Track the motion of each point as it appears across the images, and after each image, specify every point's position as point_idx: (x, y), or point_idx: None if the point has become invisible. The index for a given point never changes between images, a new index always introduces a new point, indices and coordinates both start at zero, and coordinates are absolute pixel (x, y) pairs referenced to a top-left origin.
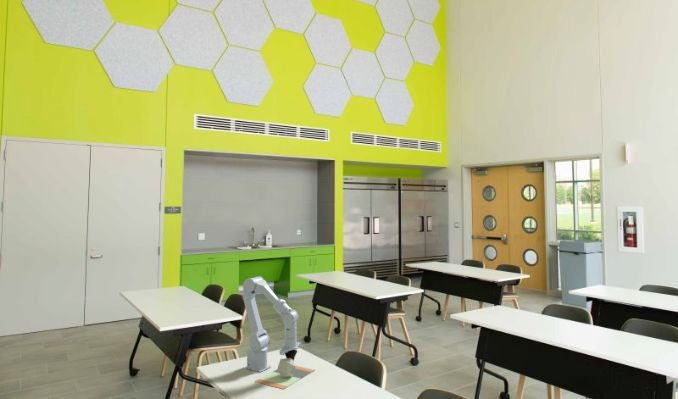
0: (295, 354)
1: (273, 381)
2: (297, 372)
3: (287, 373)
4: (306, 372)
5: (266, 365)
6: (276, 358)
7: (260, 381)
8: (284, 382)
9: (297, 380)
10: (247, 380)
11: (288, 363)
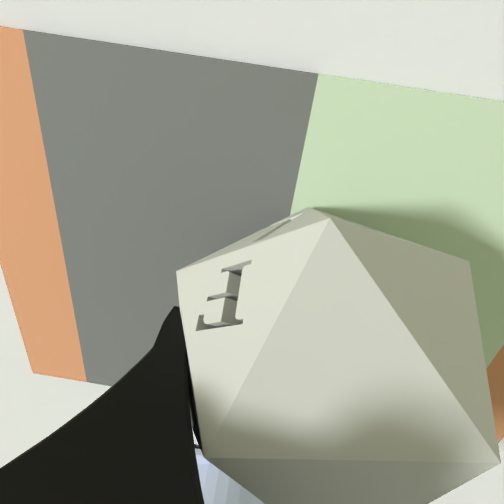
0: (35, 472)
1: (482, 335)
2: (150, 211)
3: (469, 265)
4: (80, 98)
5: (209, 482)
6: (11, 456)
7: (494, 419)
8: (500, 224)
9: (401, 86)
10: (468, 482)
11: (465, 395)
